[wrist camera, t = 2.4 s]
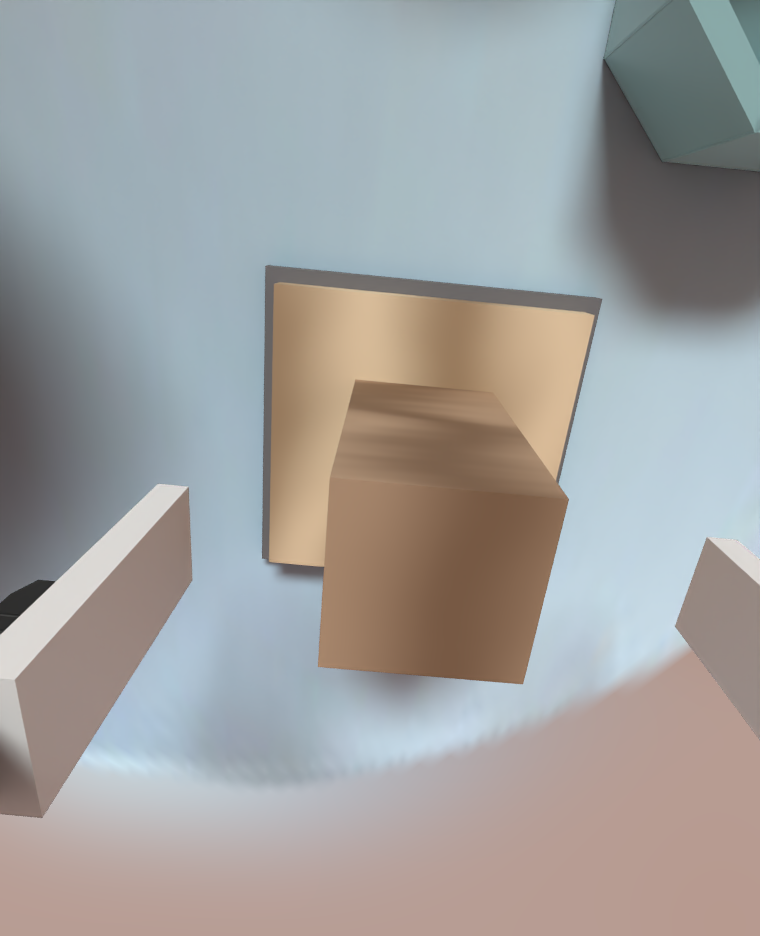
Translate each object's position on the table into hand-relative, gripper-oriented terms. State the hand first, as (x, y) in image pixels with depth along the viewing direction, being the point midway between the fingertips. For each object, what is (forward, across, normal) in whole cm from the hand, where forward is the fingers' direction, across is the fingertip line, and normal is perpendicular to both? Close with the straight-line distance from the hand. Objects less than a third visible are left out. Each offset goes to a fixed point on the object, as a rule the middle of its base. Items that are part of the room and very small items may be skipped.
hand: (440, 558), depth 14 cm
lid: (+8, 0, 0) cm, 8 cm away
